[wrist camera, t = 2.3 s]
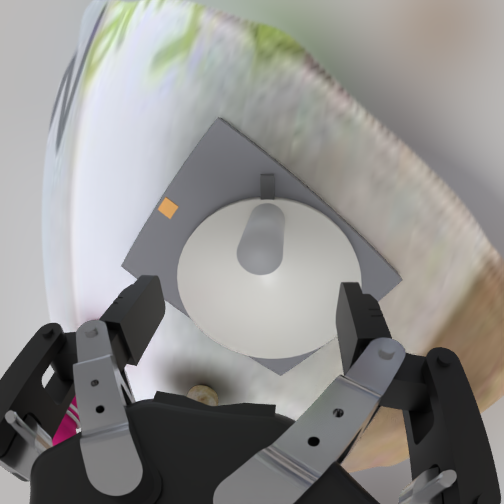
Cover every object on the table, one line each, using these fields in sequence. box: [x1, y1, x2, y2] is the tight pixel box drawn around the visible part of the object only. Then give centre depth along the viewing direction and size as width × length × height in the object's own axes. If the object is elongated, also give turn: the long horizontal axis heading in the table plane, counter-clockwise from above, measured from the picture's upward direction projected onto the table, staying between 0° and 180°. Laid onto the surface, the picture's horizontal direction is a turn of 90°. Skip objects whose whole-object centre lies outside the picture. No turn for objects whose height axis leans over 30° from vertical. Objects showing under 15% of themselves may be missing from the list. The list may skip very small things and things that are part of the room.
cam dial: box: [177, 174, 362, 359], centre depth 22 cm, size 18×16×7 cm
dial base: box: [121, 118, 402, 376], centre depth 26 cm, size 21×17×1 cm
